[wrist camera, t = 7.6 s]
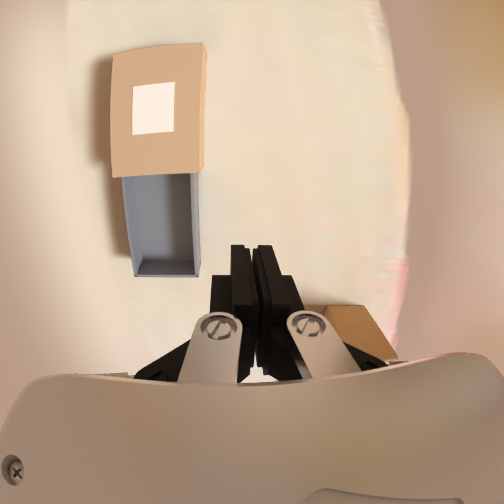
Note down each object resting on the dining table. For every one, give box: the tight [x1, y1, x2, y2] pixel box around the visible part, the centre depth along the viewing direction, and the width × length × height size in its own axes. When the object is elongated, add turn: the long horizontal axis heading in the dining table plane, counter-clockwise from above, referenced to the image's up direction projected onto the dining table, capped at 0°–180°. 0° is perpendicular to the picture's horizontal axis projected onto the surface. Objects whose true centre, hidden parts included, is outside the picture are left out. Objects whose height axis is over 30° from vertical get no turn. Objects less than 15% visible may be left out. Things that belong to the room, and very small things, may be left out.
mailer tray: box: [121, 173, 201, 277], centre depth 35 cm, size 15×9×4 cm, turn 178°
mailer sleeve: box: [110, 42, 207, 178], centre depth 29 cm, size 16×11×6 cm
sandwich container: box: [323, 305, 398, 362], centre depth 45 cm, size 9×15×15 cm, turn 171°
